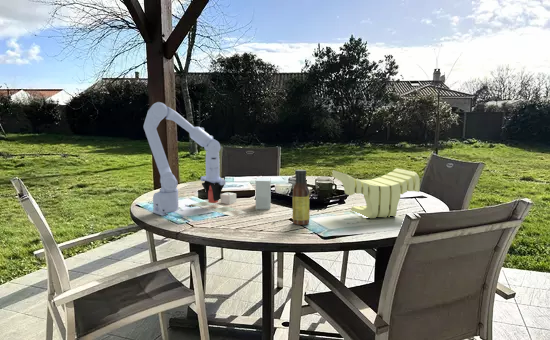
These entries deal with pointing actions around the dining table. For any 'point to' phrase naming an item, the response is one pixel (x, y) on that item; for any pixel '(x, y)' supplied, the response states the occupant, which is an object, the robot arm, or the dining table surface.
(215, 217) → the dining table surface
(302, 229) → the dining table surface
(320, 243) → the dining table surface
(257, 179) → the small box
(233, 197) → the die
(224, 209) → the board
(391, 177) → the slatted curved stool
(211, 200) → the pawn
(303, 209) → the sauce bottle
